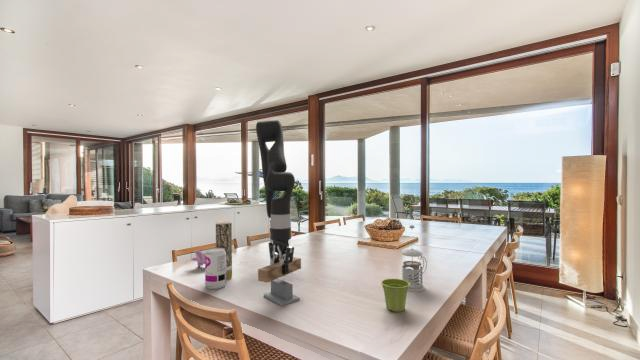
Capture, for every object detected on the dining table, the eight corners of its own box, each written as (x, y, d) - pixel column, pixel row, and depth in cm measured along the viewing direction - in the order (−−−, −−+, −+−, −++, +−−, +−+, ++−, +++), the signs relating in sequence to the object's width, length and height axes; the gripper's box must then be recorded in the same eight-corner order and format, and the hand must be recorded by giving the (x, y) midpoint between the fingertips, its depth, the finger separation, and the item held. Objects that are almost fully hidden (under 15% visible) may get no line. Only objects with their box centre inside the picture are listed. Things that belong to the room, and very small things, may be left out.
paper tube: (227, 281, 138) (227, 223, 138) (213, 280, 139) (212, 222, 139) (234, 276, 144) (234, 221, 144) (221, 275, 146) (220, 220, 146)
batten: (292, 267, 127) (292, 257, 127) (301, 268, 125) (300, 258, 125) (258, 280, 110) (258, 269, 110) (267, 282, 108) (267, 270, 108)
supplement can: (207, 291, 126) (206, 252, 126) (204, 284, 133) (203, 248, 133) (228, 287, 129) (227, 250, 129) (224, 281, 137) (223, 246, 137)
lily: (221, 270, 158) (220, 251, 162) (204, 266, 148) (204, 246, 153) (201, 275, 161) (202, 257, 166) (184, 272, 152) (185, 252, 156)
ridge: (281, 291, 125) (281, 276, 124) (299, 300, 115) (299, 283, 115) (263, 296, 119) (263, 280, 119) (281, 305, 110) (281, 288, 110)
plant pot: (378, 303, 112) (377, 278, 112) (404, 302, 113) (404, 277, 113) (385, 314, 102) (385, 287, 102) (414, 313, 103) (414, 286, 103)
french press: (394, 285, 131) (394, 224, 131) (417, 281, 135) (416, 222, 135) (410, 293, 122) (410, 227, 122) (434, 288, 126) (433, 225, 126)
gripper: (300, 227, 114) (300, 274, 114) (278, 223, 125) (279, 266, 125) (282, 229, 109) (283, 279, 109) (261, 225, 120) (262, 270, 120)
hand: (281, 272), depth 117 cm, fingers closed on batten, 5 cm apart
